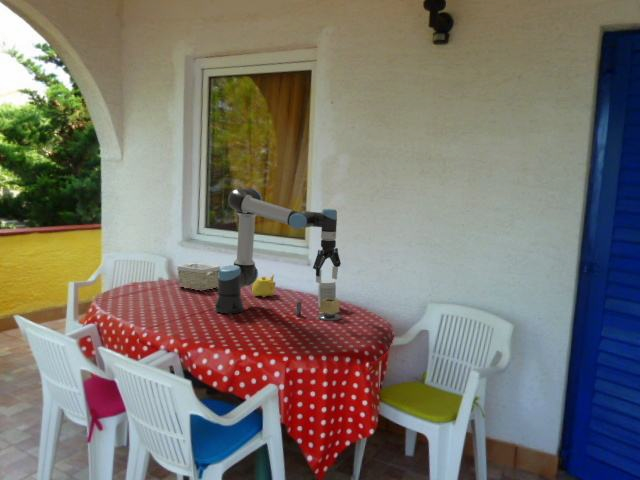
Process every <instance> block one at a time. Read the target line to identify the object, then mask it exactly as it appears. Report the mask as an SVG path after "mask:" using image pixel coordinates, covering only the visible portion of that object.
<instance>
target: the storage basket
mask: <svg viewBox="0 0 640 480" xmlns="http://www.w3.org/2000/svg"><path fill="white" fill-rule="evenodd" d="M220 268H221V266H220V265H217V264H208V263H201V262H189V263H183V264H178V265H177V267H176V269H177V274H178V285H181V286H186V287H190V288H194V289H198V290H205V289H211V288H215V287H218V272H219V269H220Z"/></svg>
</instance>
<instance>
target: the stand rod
mask: <svg viewBox="0 0 640 480" xmlns="http://www.w3.org/2000/svg"><path fill="white" fill-rule="evenodd" d="M301 316H302V300H296V317H301Z"/></svg>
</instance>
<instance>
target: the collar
mask: <svg viewBox="0 0 640 480" xmlns="http://www.w3.org/2000/svg"><path fill="white" fill-rule="evenodd" d="M340 302H341V300H339V299H336V298H335V299H331V298H328V299H324V300H320V308H319V310H320V311H319V312H320V313H322V314H324V313H327V314H334V313H335V314H338V313H339V312H340V304H341V303H340Z"/></svg>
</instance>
